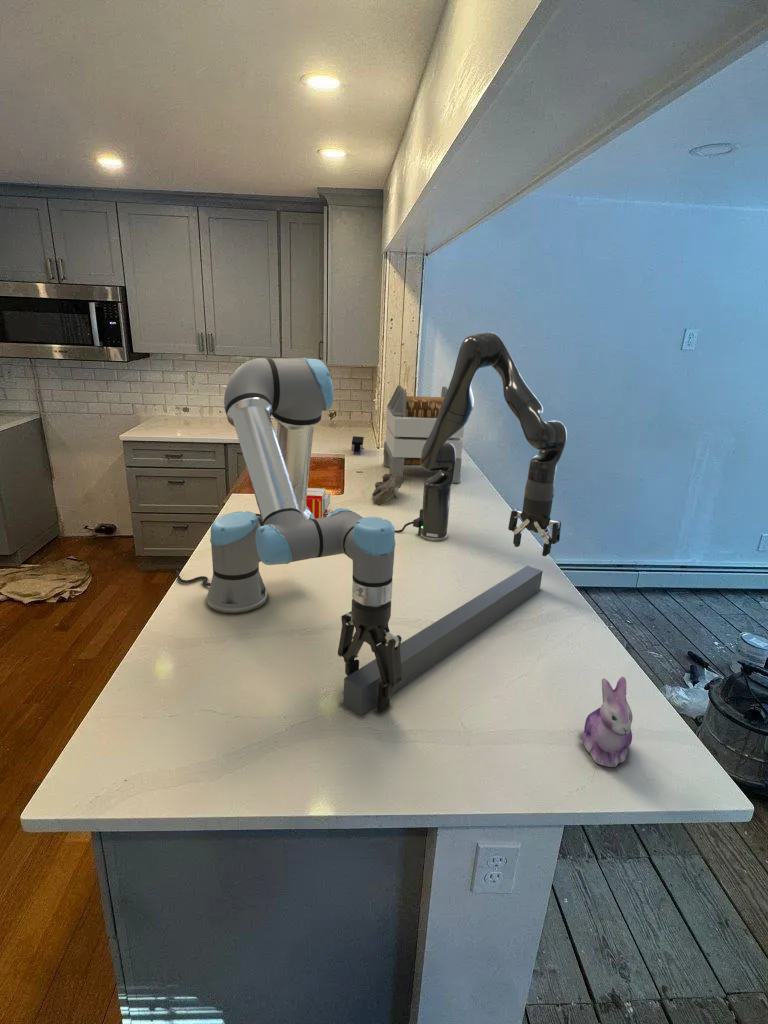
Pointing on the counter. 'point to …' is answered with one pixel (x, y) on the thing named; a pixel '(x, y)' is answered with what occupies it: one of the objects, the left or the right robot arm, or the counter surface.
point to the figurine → (609, 726)
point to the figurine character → (357, 444)
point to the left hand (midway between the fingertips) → (367, 698)
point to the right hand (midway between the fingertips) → (530, 550)
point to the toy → (317, 501)
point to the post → (443, 637)
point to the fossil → (387, 487)
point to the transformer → (414, 430)
